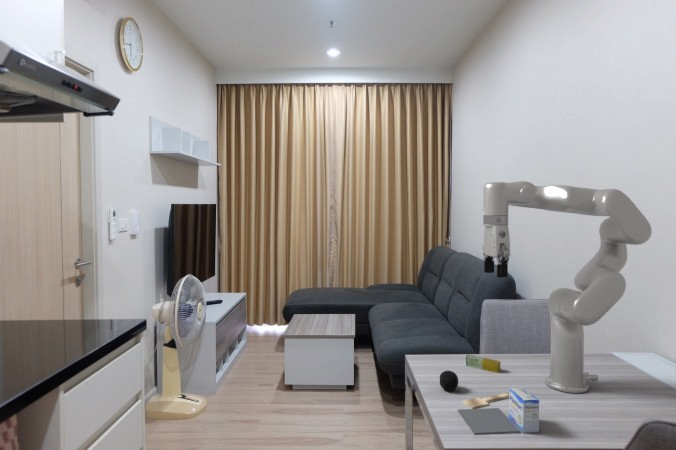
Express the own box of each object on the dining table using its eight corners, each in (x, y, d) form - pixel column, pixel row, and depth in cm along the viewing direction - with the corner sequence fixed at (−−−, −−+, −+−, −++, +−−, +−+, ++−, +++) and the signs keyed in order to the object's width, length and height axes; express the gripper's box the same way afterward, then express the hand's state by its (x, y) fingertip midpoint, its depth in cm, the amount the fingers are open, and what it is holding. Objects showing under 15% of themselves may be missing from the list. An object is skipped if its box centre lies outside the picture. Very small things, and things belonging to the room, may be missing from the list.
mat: (498, 409, 125) (498, 408, 125) (520, 432, 112) (520, 431, 112) (457, 410, 125) (457, 409, 125) (474, 434, 112) (474, 432, 112)
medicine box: (508, 418, 120) (508, 387, 120) (523, 417, 120) (524, 387, 120) (522, 433, 112) (523, 400, 112) (539, 432, 113) (539, 399, 112)
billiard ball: (459, 394, 136) (459, 375, 136) (439, 393, 137) (439, 374, 137) (457, 386, 142) (457, 368, 141) (438, 385, 143) (438, 367, 143)
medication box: (465, 366, 160) (465, 355, 160) (468, 364, 162) (468, 353, 162) (498, 374, 153) (498, 362, 152) (501, 371, 155) (501, 360, 155)
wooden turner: (503, 393, 136) (503, 391, 136) (514, 399, 132) (514, 396, 132) (462, 403, 130) (462, 400, 130) (472, 409, 126) (472, 406, 126)
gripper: (520, 222, 130) (519, 279, 130) (495, 220, 147) (495, 270, 148) (495, 222, 129) (495, 279, 130) (473, 220, 146) (473, 271, 147)
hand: (495, 274), depth 139 cm, fingers open, 9 cm apart
